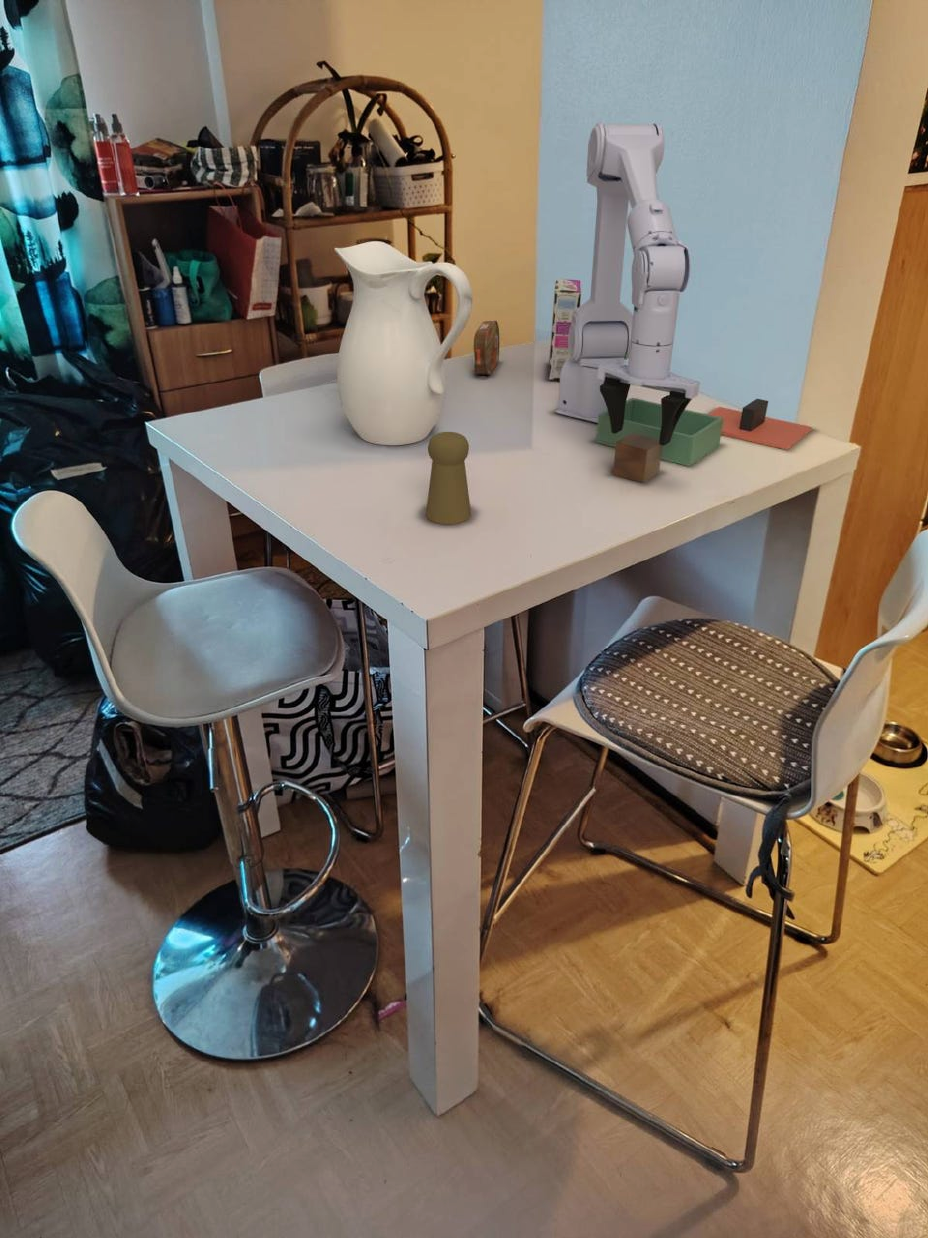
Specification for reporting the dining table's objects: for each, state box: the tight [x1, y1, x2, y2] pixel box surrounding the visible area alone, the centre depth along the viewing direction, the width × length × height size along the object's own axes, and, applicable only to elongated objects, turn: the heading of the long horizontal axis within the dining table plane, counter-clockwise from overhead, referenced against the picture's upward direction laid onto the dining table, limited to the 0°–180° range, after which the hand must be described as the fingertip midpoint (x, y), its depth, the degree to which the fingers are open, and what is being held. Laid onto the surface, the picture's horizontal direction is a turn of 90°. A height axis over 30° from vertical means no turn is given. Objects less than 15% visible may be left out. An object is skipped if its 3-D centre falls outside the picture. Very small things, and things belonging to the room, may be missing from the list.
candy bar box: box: [548, 278, 582, 382], centre depth 168 cm, size 11×5×16 cm, turn 174°
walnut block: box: [612, 433, 663, 484], centre depth 129 cm, size 5×5×5 cm
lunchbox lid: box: [706, 398, 813, 451], centre depth 146 cm, size 16×11×4 cm
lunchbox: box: [595, 397, 724, 467], centre depth 140 cm, size 16×11×4 cm
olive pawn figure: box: [425, 431, 472, 525], centre depth 115 cm, size 6×6×11 cm
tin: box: [473, 320, 500, 376], centre depth 172 cm, size 15×3×8 cm, turn 168°
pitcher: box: [333, 240, 473, 446], centre depth 134 cm, size 24×17×28 cm
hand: (640, 437), depth 128 cm, fingers open, 7 cm apart
